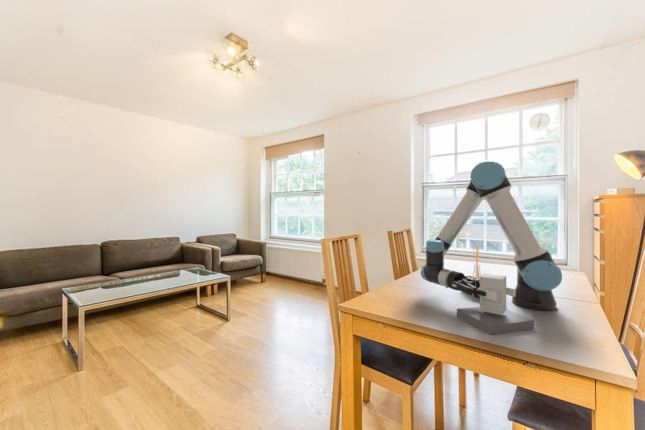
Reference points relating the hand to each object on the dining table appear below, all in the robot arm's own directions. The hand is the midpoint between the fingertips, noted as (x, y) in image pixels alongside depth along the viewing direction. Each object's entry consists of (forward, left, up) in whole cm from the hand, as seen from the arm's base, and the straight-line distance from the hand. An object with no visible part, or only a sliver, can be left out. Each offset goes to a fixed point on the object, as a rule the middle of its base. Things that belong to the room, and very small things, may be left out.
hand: (505, 294), depth 97 cm
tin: (-16, -33, -12) cm, 39 cm away
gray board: (+1, -4, -11) cm, 12 cm away
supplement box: (+1, -4, -7) cm, 9 cm away
